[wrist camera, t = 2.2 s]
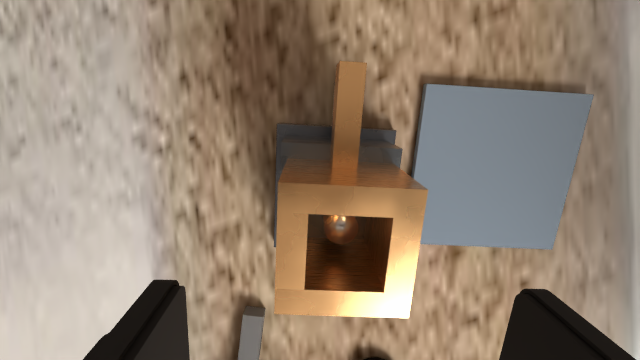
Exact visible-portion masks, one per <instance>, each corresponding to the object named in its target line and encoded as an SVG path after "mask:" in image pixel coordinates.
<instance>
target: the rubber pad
mask: <svg viewBox="0 0 640 360" xmlns="http://www.w3.org/2000/svg"><path fill="white" fill-rule="evenodd" d="M593 96H594V95H592V94H576V93H561V92H546V91H530V90H515V89H500V88H484V87H469V86H453V85H438V84H424V87H423V94H422V102H421V109H420V116H419V124H418V131H417V138H416V145H415V153H414V160H413V167H412V175H411V177H412V178H413V179H415V180H416V181H417V182H419V183H420V184H421V185H423V186H424V187H425V188H426V189H428V195H427V202H426V208H425V215H424V221H423V228H422V234H421V241H420V244H435V245H458V246H482V247H506V248H529V249H552V248H553V245H554V241H555V237H556V234H557V230H558V226H559V222H560V219H561V215H562V211H563V208H564V204H565V200H566V196H567V193H568V189H569V185H570V181H571V178H572V174H573V170H574V167H575V163H576V159H577V155H578V152H579V148H580V144H581V141H582V137H583V133H584V129H585V126H586V122H587V118H588V114H589V111H590V107H591V103H592V100H593Z"/></svg>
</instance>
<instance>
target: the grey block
mask: <svg viewBox="0 0 640 360" xmlns="http://www.w3.org/2000/svg"><path fill="white" fill-rule="evenodd" d="M334 95H335V82H334ZM333 109H334V102H333ZM332 124H333V116H332ZM395 137H396V130H390V129H373V128H361V133H360V144H359V155H358V162H371V163H389V164H395V165H396V166H397V167H399V168H400V163H401V155H402V148H400V147H398V146H396V145H395ZM331 138H332V126H322V125H305V124H287V123H277V146H276V186H275V226H274V247H276V238H277V201H278V181H279V179H280V176H281V174H282V171H283V169H284V166H285V164H286V161H287V159H288V158H296V159H315V160H330V153H331ZM365 223H366V217H364V216H342V215H320V214H308V231H307V237H315V238H328V239H329V240H330V241H332V242H334V243H337V244H344V243H348V242H350V241H351V240H353V239H362V240H364V233H365Z"/></svg>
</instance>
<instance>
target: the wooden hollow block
mask: <svg viewBox="0 0 640 360" xmlns="http://www.w3.org/2000/svg"><path fill="white" fill-rule="evenodd" d="M366 67H367V63H362V62H347V61H340V62H339V63H338V64H337V66H336V80H335V95H334V109H333V124H332V138H331V153H330V160H315V159H296V158H288V159H287V161H286V164H285V166H284V169H283V171H282V174H281V176H280V179H279V181H278V201H277V238H276V275H275V312H274V314H292V315H323V316H355V317H386V318H409V313H410V307H411V300H412V294H413V287H414V280H415V274H416V267H417V261H418V254H419V248H420V241H421V234H422V228H423V221H424V215H425V208H426V202H427V195H428V189H426V188H425V187H424V186H423V185H421V184H420V183H419V182H417V181H416V180H415V179H413V178H412V177H411V176H409V175H408V174H407V173H405V172H404V171H403V170H401V169H400V168H399V167H397V166H396V165H395V164H389V163H371V162H358V155H359V144H360V133H361V122H362V111H363V100H364V89H365V78H366ZM308 214H320V215H342V216H364V217H366V223H365V233H364V240H362V239H353V240H351V241H350V242H348V243H344V244H337V243H334V242H332V241H330V240H329V239H328V238H315V237H307V231H308Z"/></svg>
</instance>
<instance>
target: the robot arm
mask: <svg viewBox="0 0 640 360" xmlns="http://www.w3.org/2000/svg"><path fill="white" fill-rule="evenodd" d="M83 360H190V359H189V342H188V325H187V308H186V292H185V287H184V286H179V283H178V281H177V280H153V281H152V282H151V283H150V284H149V286H148V287H147V288H146V289H145V290H144V292H143V293H142V294H141V295H140V297H139V298H138V299H137V300H136V301H135V303H134V304H133V305H132V306H131V307H130V309H129V310H128V311H127V312H126V313H125V315H124V316H123V317H122V318H121V319H120V321H119V322H118V323H117V324H116V325H115V327H114V328H113V329H112V330H111V332H110V333H108V334H106V335H104V336H103V337H102V338H101V339H100V340H99V341H98V342H97V343H96V345H95V346H94V347H93V348H92V349H91V351H90V352H89V353H88V354H87V355H86V356H85V358H84V359H83ZM499 360H636V359H635V358H633V357H632V356H631V355H629V354H628V353H627V352H626V351H624V350H623V349H622V348H621V347H619V346H618V345H617V344H616V343H614V342H613V341H612V340H611V339H609V338H608V337H607V336H605V335H604V334H603V333H602V332H600V331H599V330H598V329H597V328H595V327H594V326H593V325H592V324H590V323H589V322H588V321H586V320H585V319H584V318H583V317H581V316H580V315H579V314H578V313H576V312H575V311H574V310H573V309H571V308H570V307H569V306H568V305H566V304H565V303H564V302H562V301H561V300H560V299H559V298H557V297H556V296H555V295H554V294H552V293H551V292H550V291H548V290H545V289H523V290H522V291H521V292H520V294H518V295H517V296H516V297H515V300H514V304H513V308H512V312H511V316H510V320H509V323H508V327H507V331H506V335H505V339H504V343H503V347H502V351H501V355H500V359H499Z"/></svg>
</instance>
